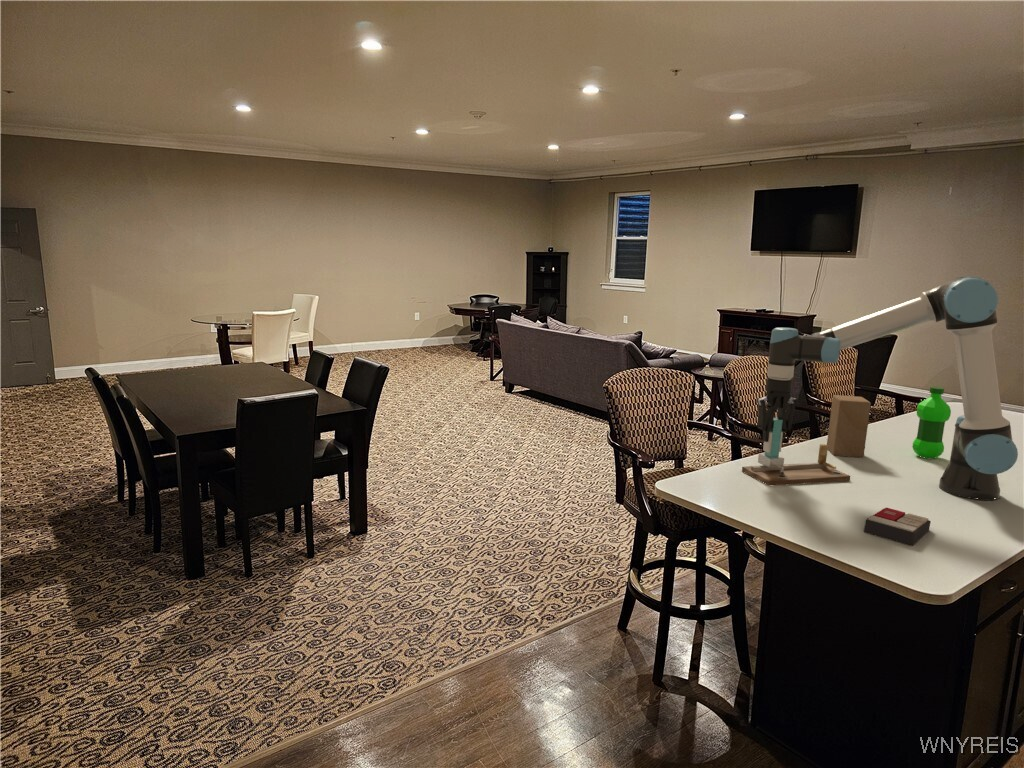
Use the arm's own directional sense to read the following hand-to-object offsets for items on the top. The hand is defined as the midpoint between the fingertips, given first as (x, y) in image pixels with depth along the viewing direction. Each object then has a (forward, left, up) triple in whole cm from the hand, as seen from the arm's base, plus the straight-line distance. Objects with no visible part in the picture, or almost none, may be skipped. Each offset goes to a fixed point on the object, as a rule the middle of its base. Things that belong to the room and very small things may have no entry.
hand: (771, 451), depth 209 cm
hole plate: (-3, -7, -8) cm, 11 cm away
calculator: (-46, -4, -8) cm, 47 cm away
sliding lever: (-2, 0, -6) cm, 6 cm away
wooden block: (+17, -43, -8) cm, 47 cm away
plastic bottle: (+8, -70, -8) cm, 71 cm away
